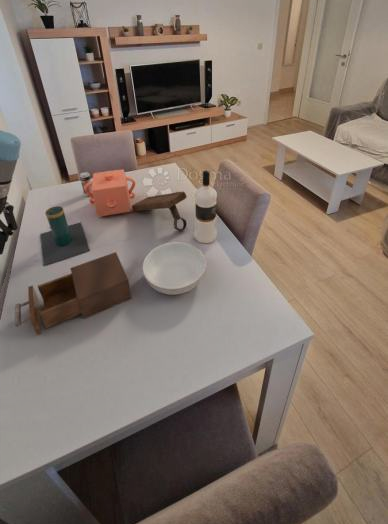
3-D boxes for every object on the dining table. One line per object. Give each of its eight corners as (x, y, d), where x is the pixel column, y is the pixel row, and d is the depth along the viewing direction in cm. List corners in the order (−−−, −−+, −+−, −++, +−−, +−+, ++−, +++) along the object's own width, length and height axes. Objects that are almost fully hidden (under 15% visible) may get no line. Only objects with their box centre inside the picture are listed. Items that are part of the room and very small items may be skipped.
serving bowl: (165, 248, 107) (164, 235, 103) (215, 267, 98) (215, 253, 95) (131, 288, 91) (129, 273, 88) (187, 314, 82) (186, 299, 79)
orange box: (141, 222, 121) (137, 187, 112) (87, 231, 116) (78, 196, 107) (136, 193, 142) (132, 162, 133) (90, 200, 137) (82, 168, 128)
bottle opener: (143, 235, 131) (181, 236, 108) (130, 205, 129) (166, 200, 106) (159, 224, 138) (198, 224, 115) (147, 196, 135) (185, 190, 112)
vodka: (194, 229, 117) (193, 165, 102) (215, 229, 117) (218, 165, 102) (193, 244, 109) (193, 177, 94) (217, 244, 109) (220, 177, 94)
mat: (40, 234, 115) (40, 233, 115) (80, 223, 121) (80, 222, 121) (44, 266, 100) (43, 265, 99) (89, 250, 106) (89, 249, 106)
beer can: (82, 194, 142) (77, 174, 136) (90, 191, 145) (85, 170, 139) (88, 197, 139) (83, 176, 133) (95, 193, 143) (91, 173, 137)
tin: (52, 245, 109) (41, 214, 101) (62, 235, 114) (53, 205, 106) (65, 248, 107) (55, 216, 100) (75, 237, 112) (66, 207, 105)
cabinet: (83, 319, 81) (77, 300, 77) (76, 286, 92) (70, 268, 87) (131, 298, 88) (128, 279, 83) (119, 269, 98) (115, 251, 94)
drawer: (19, 342, 75) (11, 327, 71) (19, 307, 84) (11, 292, 81) (87, 313, 82) (82, 298, 79) (80, 284, 91) (75, 269, 88)
